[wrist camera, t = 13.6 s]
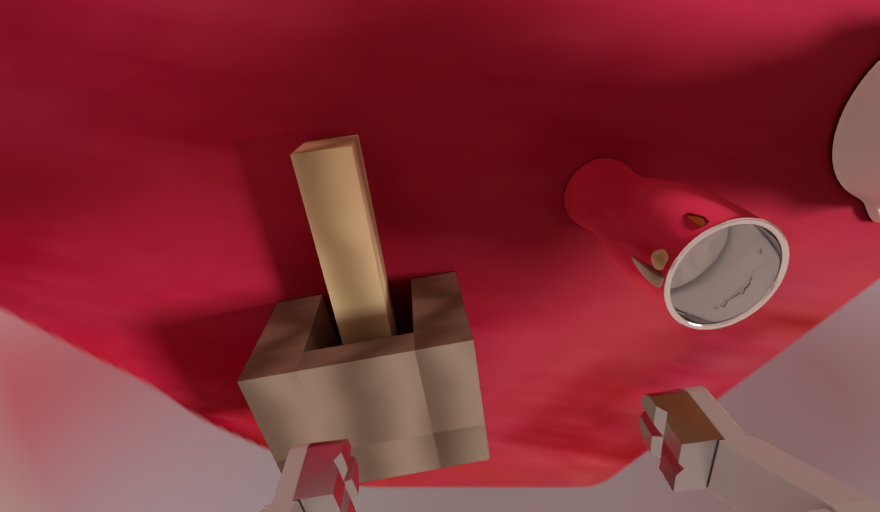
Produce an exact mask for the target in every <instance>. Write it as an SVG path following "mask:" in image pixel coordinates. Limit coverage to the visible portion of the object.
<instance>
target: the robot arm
mask: <svg viewBox="0 0 880 512" xmlns="http://www.w3.org/2000/svg"><path fill="white" fill-rule="evenodd" d="M832 160H833V167H834V171H835V174H836V177H837V179H838V181H839V182H840V184H841V185H842V186H843V188H844V189H845V190H846V191H848V192H849V193H850V194H852V195H854V196H855V197H857V198H859V199H860V200H861V201H862V202H863V203H864V204H865V207H866V210H867V212H868V215H869V217H870V218H871V219H872V220H873V221H874V222H878V223H880V60H879V61H878V62H877V63H876V64H875V65H874V66H873V67H872V69H871V70H870V71H869V72H868V73H867V74H866V76H865V77H864V78H863V79H862V81H861V82H860V83H859V85H858V86H857V88H856V89H855V91H854V92H853V94H852V96H851V97H850V99H849V101H848V103H847V104H846V106H845V108H844V110H843V113H842V115H841V117H840V120H839V123H838V125H837V129H836V132H835V136H834V141H833V149H832ZM641 405H642V406H643V408H644V409H645V412H644V413H643V414H642V415H641V416H640V429H641V433H642V437H643V439H644V442H645V444H646V446H647V448H648V449H649V451H650V453H652V454H653V455H655V456H656V457H658V458H659V459H660V465H659V469H660V470H661V472H662V474H663V475H664V477H665V479H666V481H667V482H668V484H669V486H670V487H671V489H672V491H673V492H680V491H689V490H698V489H707V488H708V491H709V492H710V493H712V494H713V495H714V496H715V497H717V498H718V499H720V500H721V501H722V502H723V503H724V504H726V505H727V506H728V507H729V508H731V509H732V510H733V511H735V512H880V504H879V503H877V502H876V501H875V500H873V499H872V498H870V497H868V496H866V495H864V494H862V493H861V492H859V491H857V490H855V489H853V488H851V487H849V486H847V485H845V484H843V483H842V482H840V481H838V480H836V479H834V478H832V477H830V476H828V475H826V474H825V473H823V472H821V471H819V470H817V469H815V468H813V467H811V466H810V465H808V464H806V463H804V462H802V461H800V460H798V459H796V458H794V457H793V456H791V455H788V454H787V453H785V452H783V451H781V450H779V449H777V448H775V447H774V446H772V445H770V444H768V443H766V442H764V441H762V440H760V439H759V438H757V437H755V436H747V435H746V434H745V433H744V432H743V431H742V430H741V428H740V427H739V426H738V425H737V424H736V423H735V422H734V420H733V419H732V418H731V417H730V416H729V415H728V413H727V412H726V411H725V410H724V409H723V408H722V407H721V405H720V404H719V403H718V402H717V401H716V399H715V398H714V397H713V396H712V395H711V394H710V393H709V391H708V390H707V389H706V388H704V387H703V386H697V387H691V388H684V389H675V390H669V391H662V392H656V393H650V394H645V395H644V396H643V397H642V404H641ZM350 453H351V445H350V442H349V440H348V439H340V440H332V441H323V442H315V443H308V444H300V445H293V446H292V448H291V449H290V450H289V452H288V455H287V458H286V462H285V465H284V468H283V471H282V474H281V477H280V480H279V483H278V486H277V489H276V492H275V496H274V498H273V502H272V504H270V505H266V506H265V507H264V508H263V509H262V510H261V511H260V512H356V510H355V508H354V505H353V503H352V501H353V500H354V499H355V497H356V496H357V495H358V490H359V468H358V463H357V460H356V458H355V457H354V456H352V455H351V454H350Z"/></svg>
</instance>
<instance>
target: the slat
mask: <svg viewBox="0 0 880 512" xmlns="http://www.w3.org/2000/svg"><path fill="white" fill-rule="evenodd" d="M290 156H291V160H292V164H293V167H294V171H295V174H296V178H297V182H298V185H299V189H300V192H301V196H302V200H303V203H304V207H305V210H306V214H307V218H308V221H309V225H310V228H311V232H312V236H313V239H314V243H315V246H316V250H317V254H318V257H319V261H320V264H321V268H322V272H323V275H324V279H325V282H326V286H327V290H328V293H329V297H330V300H331V304H332V308H333V311H334V315H335V318H336V322H337V326H338V329H339V333H340V336H341V340H342V344H343V345H346V344H352V343H358V342H363V341H369V340H375V339H380V338H386V337H392V336H397V325H396V320H395V315H394V310H393V305H392V300H391V295H390V290H389V285H388V280H387V275H386V270H385V265H384V260H383V255H382V250H381V245H380V240H379V235H378V230H377V225H376V220H375V215H374V210H373V205H372V200H371V195H370V190H369V185H368V180H367V175H366V170H365V165H364V160H363V155H362V150H361V145H360V140H359V135H351V136H344V137H336V138H329V139H322V140H314V141H307V142H304V143H303V144H302V145H301V146H300V147H298V148H297V149H296V150H295V151H294V152H292V153H291V154H290Z"/></svg>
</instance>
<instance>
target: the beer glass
mask: <svg viewBox="0 0 880 512" xmlns="http://www.w3.org/2000/svg"><path fill="white" fill-rule="evenodd" d="M564 205H565V209H566V212H567V214H568V216H569V217H570V218H571V219H572V220H573V221H574V222H575V223H576V224H578V225H579V226H581V227H584V228H586V229H588V230H591V231H592V232H594V233H595V235H596V236H597V238H598V239H599V241H600V243H601V244H602V246H603V248H604V249H605V251H606V253H607V254H608V256H609V257H610V259H611V260H612V262H613V263H614V264H615V266H616V267H617V269H618V270H619V271H620V272H621V273H622V275H623V276H624V277H625V278H626V279H627V280H628V281H629V282H630V283H631V284H632V285H633V286H634V287H635V288H637V289H638V290H639V291H640V292H641V293H642V294H644V295H645V296H646V297H647V298H648V299H650V300H651V301H652V302H654V303H655V304H656V305H657V306H659V307H660V308H662V309H663V310H664V311H666V312H667V313H668V314H670V315H671V316H672V317H673V318H674V319H675V320H676V321H677V322H679V323H680V324H682V325H684V326H687V327H690V328H693V329H701V330H709V329H717V328H722V327H726V326H729V325H732V324H734V323H736V322H739V321H741V320H743V319H744V318H746V317H748V316H749V315H751V314H752V313H754V312H755V311H757V310H758V309H759V308H760V307H761V306H763V305H764V304H765V303H766V302H767V301H768V300H769V299H770V298H771V296H772V295H773V294H774V293H775V291H776V290H777V288H778V287H779V285H780V284H781V282H782V280H783V278H784V276H785V273H786V270H787V267H788V262H789V247H788V243H787V240H786V238H785V236H784V234H783V233H782V231H781V230H780V229H779V228H778V227H777V226H775V225H774V224H772V223H771V222H769V221H766V220H763V219H761V218H759V217H758V216H756V215H754V214H752V213H751V212H749V211H747V210H745V209H744V208H742V207H740V206H738V205H736V204H734V203H732V202H731V201H729V200H726V199H724V198H722V197H720V196H718V195H716V194H714V193H711V192H708V191H706V190H703V189H700V188H697V187H695V186H691V185H687V184H683V183H678V182H674V181H667V180H661V179H653V178H646V177H641V176H638V175H637V174H635V173H634V172H633V171H632V170H631V169H630V168H629V167H628V166H627V165H626V164H624V163H623V162H621V161H619V160H616V159H612V158H600V159H596V160H593V161H590V162H588V163H586V164H585V165H583V166H582V167H580V168H579V169H578V170H577V171H576V172H575V173H574V174H573V176H572V177H571V178H570V180H569V182H568V184H567V186H566V189H565V193H564Z"/></svg>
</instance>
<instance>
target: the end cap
mask: <svg viewBox="0 0 880 512" xmlns="http://www.w3.org/2000/svg"><path fill="white" fill-rule="evenodd" d="M411 290H412V309H413V327H414V333H409V334H403V335H397V336H392V337H386V338H380V339H375V340H369V341H363V342H358V343H352V344H346V345H341V346H339V345H338V342H337V339H336V336H335V333H334V329H333V326H332V323H331V320H330V317H329V314H328V311H327V308H326V305H325V302H324V298H323V295H317V296H311V297H305V298H299V299H294V300H288V301H282V302H278V303H277V305H276V306H275V308H274V310H273V312H272V314H271V316H270V318H269V320H268V322H267V324H266V326H265V328H264V330H263V332H262V334H261V336H260V338H259V340H258V342H257V344H256V346H255V348H254V350H253V352H252V354H251V356H250V358H249V359H248V361H247V363H246V365H245V367H244V369H243V371H242V373H241V375H240V377H239V379H238V381H237V383H238V385H239V387H240V389H241V391H242V393H243V395H244V397H245V399H246V401H247V403H248V405H249V407H250V410H251V412H252V414H253V416H254V418H255V420H256V422H257V424H258V426H259V428H260V430H261V432H262V434H263V436H264V438H265V440H266V443H267V445H268V447H269V449H270V451H271V453H272V455H273V457H274V459H275V461H276V463H277V465H278V467H279V469H280V471H281V473H282V471H283V468H284V465H285V462H286V458H287V455H288V452H289V450H290V449H291V448H292V446H293V445H300V444H308V443H315V442H323V441H332V440H340V439H348V440H349V442H350V445H351V453H350V454H351V455H352V456H354V457H355V458H356V460H357V463H358V468H359V483H362V482H368V481H373V480H379V479H384V478H390V477H395V476H401V475H406V474H412V473H417V472H423V471H428V470H434V469H439V468H445V467H450V466H456V465H461V464H467V463H472V462H477V461H483V460H488V459H490V457H489V450H488V443H487V435H486V428H485V421H484V414H483V406H482V399H481V392H480V385H479V377H478V370H477V363H476V356H475V348H474V341H473V337H472V333H471V329H470V326H469V322H468V318H467V314H466V311H465V307H464V303H463V299H462V296H461V292H460V288H459V284H458V281H457V277H456V273H455V272H449V273H443V274H437V275H432V276H426V277H420V278H414V279H411Z"/></svg>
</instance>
